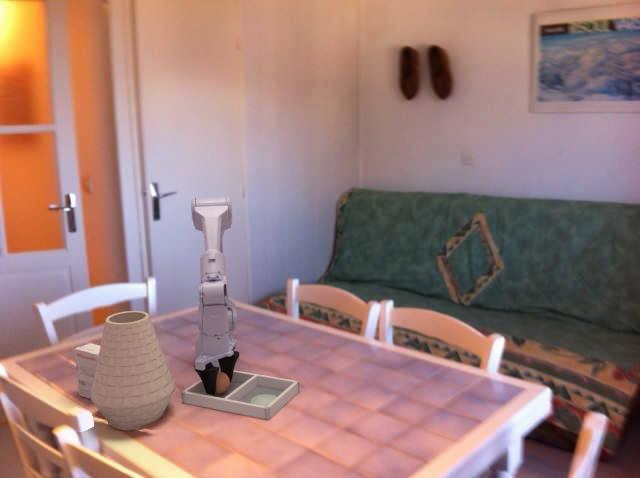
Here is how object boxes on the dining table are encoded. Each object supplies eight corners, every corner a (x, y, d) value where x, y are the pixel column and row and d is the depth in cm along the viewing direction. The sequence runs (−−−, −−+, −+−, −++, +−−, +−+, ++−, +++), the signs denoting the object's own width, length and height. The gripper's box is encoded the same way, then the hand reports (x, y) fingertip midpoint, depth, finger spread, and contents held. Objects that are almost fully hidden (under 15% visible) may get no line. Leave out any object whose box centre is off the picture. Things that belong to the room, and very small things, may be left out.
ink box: (119, 395, 153) (115, 348, 150) (102, 403, 149) (97, 355, 146) (94, 388, 157) (90, 341, 155) (77, 395, 153) (73, 348, 151)
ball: (204, 395, 149) (202, 374, 148) (216, 386, 154) (214, 366, 153) (222, 398, 147) (221, 378, 146) (234, 390, 152) (233, 370, 151)
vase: (133, 446, 129) (123, 336, 125) (75, 426, 138) (65, 322, 134) (193, 411, 144) (187, 311, 139) (138, 395, 153) (130, 300, 148)
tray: (182, 406, 146) (181, 392, 146) (218, 381, 160) (218, 367, 159) (268, 424, 137) (267, 408, 137) (299, 395, 151) (299, 381, 150)
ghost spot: (245, 404, 144) (245, 403, 144) (259, 393, 150) (259, 392, 150) (270, 409, 142) (270, 408, 142) (284, 397, 147) (284, 396, 147)
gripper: (213, 344, 140) (216, 403, 142) (247, 324, 153) (249, 378, 155) (185, 340, 142) (189, 398, 145) (221, 320, 155) (224, 374, 158)
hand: (219, 387), depth 150 cm, fingers open, 6 cm apart
